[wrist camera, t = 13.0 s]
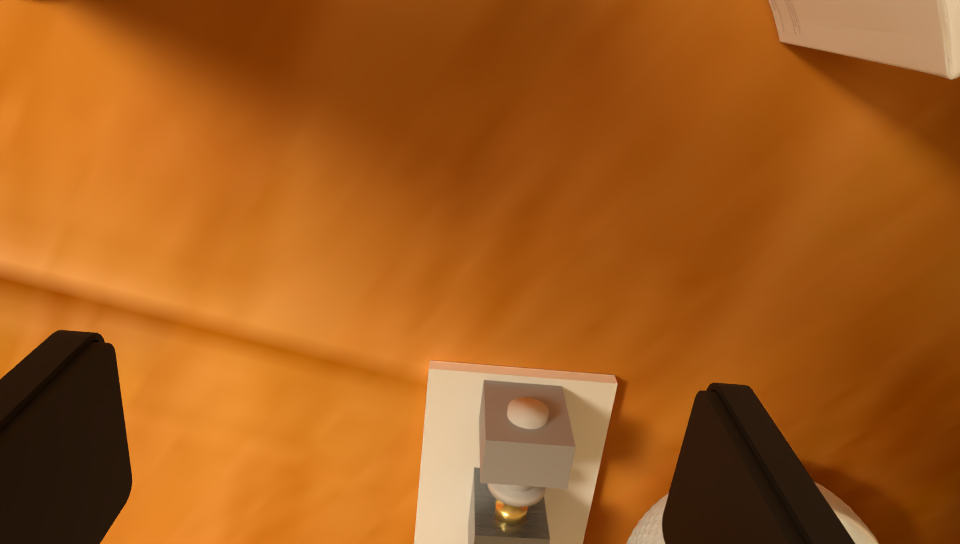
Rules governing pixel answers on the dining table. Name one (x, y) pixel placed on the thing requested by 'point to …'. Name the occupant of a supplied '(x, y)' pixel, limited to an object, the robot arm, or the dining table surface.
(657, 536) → the cereal bowl
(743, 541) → the robot arm
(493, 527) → the joint block
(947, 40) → the skincare box
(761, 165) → the dining table surface
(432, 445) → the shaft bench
